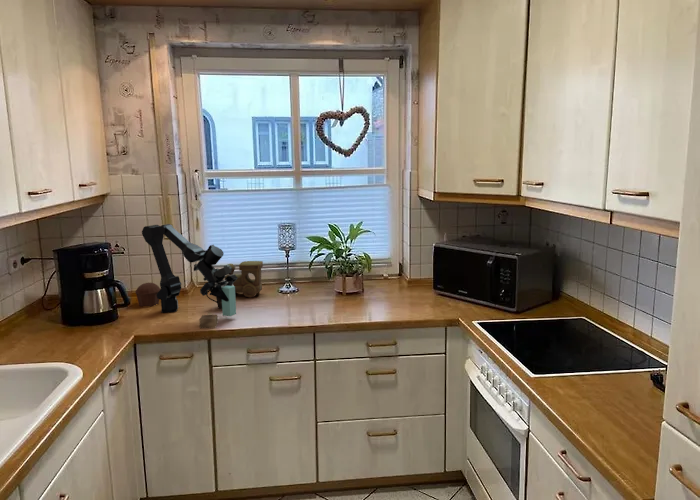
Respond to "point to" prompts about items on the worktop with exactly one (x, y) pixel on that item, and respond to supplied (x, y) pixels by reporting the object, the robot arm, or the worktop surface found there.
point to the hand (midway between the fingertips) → (231, 299)
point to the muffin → (147, 294)
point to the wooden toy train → (243, 280)
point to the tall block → (229, 306)
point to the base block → (208, 321)
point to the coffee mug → (219, 301)
